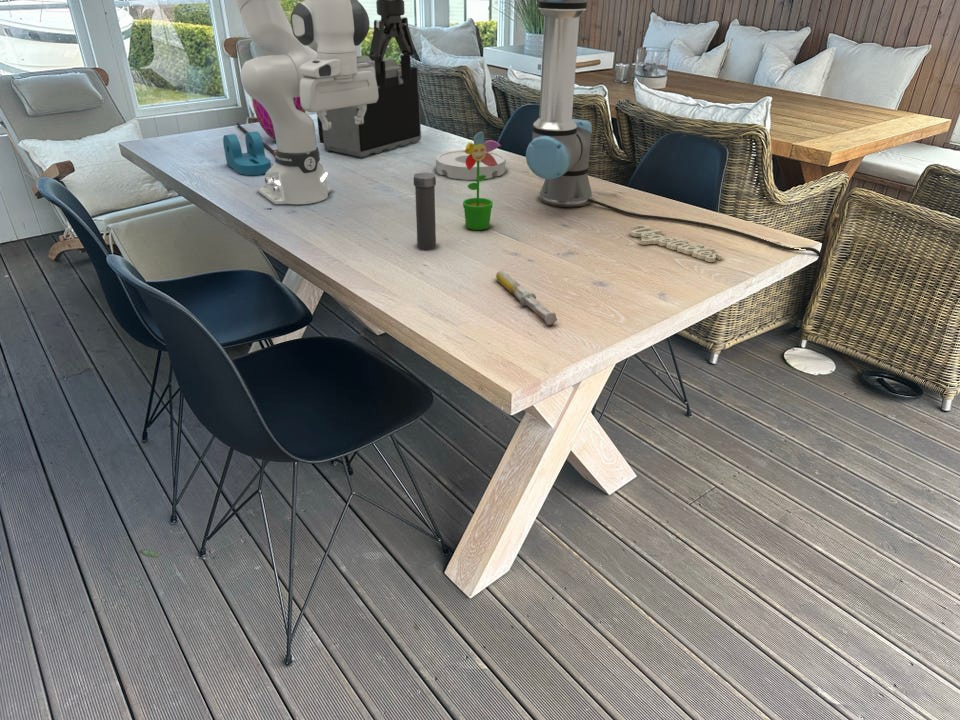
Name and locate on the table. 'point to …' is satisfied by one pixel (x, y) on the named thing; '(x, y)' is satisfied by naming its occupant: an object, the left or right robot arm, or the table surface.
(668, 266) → the table surface
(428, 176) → the lid
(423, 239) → the bottle
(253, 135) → the camera mount
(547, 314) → the syringe
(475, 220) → the potted flower
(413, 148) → the table surface
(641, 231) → the decorative sign
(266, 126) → the decorative egg
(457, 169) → the ashtray
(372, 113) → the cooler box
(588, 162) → the right robot arm
